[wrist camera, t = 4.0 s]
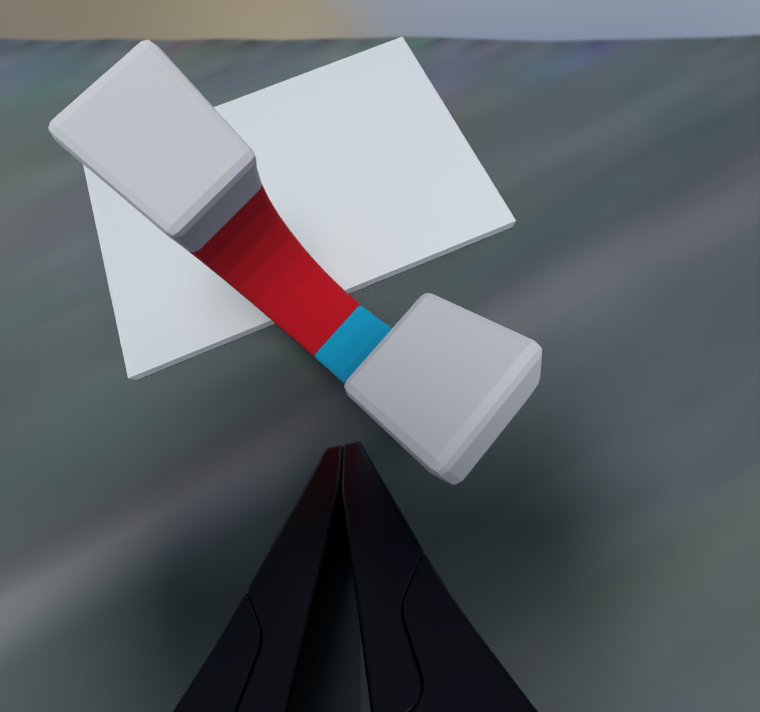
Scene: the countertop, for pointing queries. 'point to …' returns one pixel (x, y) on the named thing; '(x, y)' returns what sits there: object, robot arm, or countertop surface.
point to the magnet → (296, 267)
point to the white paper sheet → (309, 201)
